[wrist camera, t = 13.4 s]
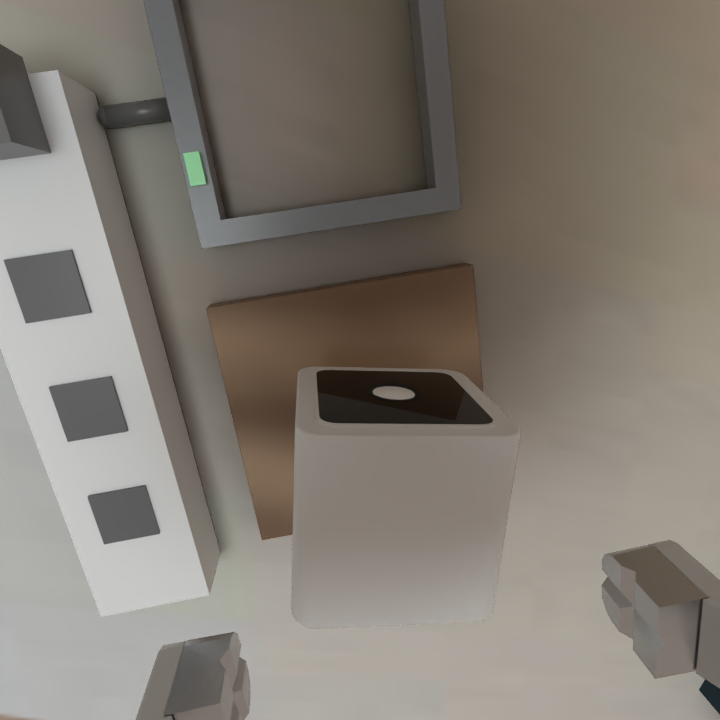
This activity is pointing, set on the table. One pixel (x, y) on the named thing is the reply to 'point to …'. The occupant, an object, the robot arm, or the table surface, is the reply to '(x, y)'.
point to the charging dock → (222, 231)
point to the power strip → (94, 347)
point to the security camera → (397, 497)
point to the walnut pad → (331, 358)
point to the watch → (711, 694)
